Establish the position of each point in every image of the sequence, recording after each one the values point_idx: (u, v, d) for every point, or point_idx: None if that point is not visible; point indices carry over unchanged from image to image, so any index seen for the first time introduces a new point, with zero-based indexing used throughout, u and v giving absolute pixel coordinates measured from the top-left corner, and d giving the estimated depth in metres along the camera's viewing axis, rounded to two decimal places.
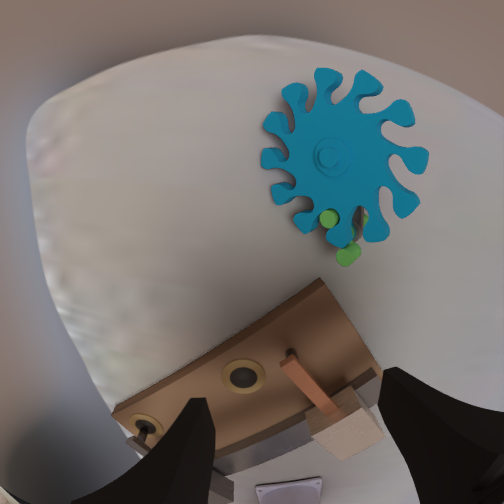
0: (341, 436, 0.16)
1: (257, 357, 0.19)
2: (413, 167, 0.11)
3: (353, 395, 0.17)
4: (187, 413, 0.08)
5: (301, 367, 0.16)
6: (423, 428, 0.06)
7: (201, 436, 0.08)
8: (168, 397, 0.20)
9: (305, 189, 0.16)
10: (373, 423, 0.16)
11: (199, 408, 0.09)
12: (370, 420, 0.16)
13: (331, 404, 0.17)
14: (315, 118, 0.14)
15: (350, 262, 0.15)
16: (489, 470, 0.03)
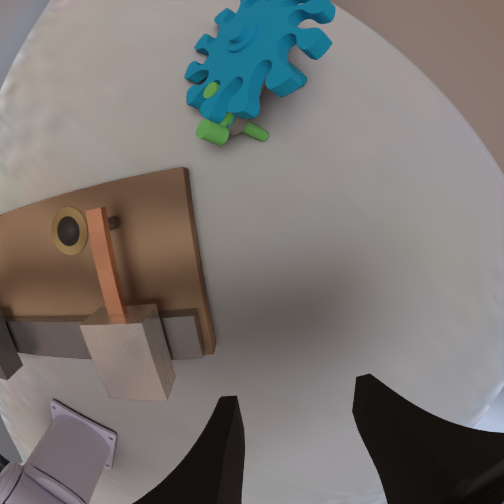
0: (112, 353, 0.13)
1: None
2: (303, 43, 0.09)
3: (147, 311, 0.14)
4: (221, 412, 0.08)
5: (103, 224, 0.13)
6: (392, 440, 0.06)
7: (236, 435, 0.08)
8: (10, 223, 0.16)
9: (209, 64, 0.13)
10: (153, 364, 0.14)
11: (233, 406, 0.09)
12: (149, 355, 0.13)
13: (118, 301, 0.14)
14: (250, 11, 0.11)
15: (205, 133, 0.13)
16: (452, 494, 0.03)
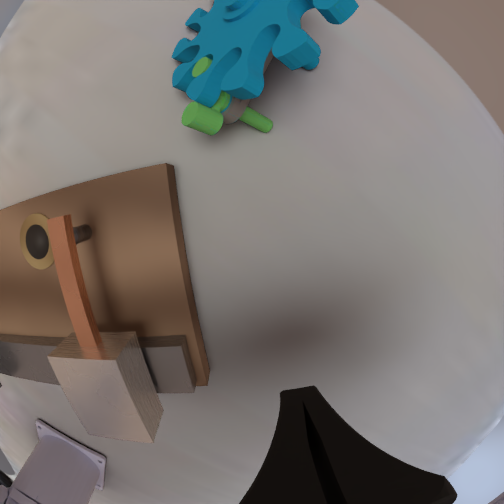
0: (85, 390, 0.10)
1: None
2: (321, 3, 0.06)
3: (124, 343, 0.11)
4: (290, 405, 0.08)
5: (67, 236, 0.10)
6: (321, 459, 0.06)
7: None
8: None
9: (201, 38, 0.10)
10: (133, 405, 0.10)
11: (300, 399, 0.09)
12: (128, 396, 0.10)
13: (88, 330, 0.11)
14: None
15: (192, 119, 0.10)
16: None
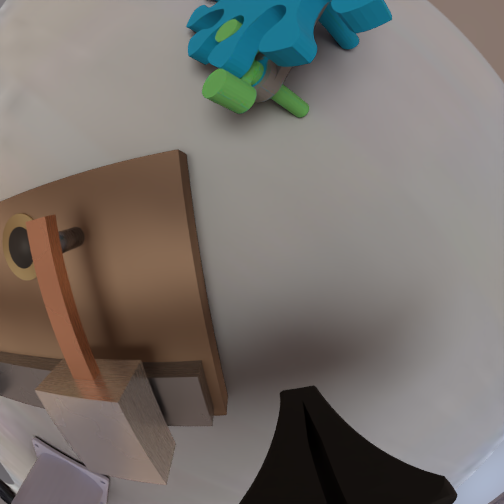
0: (83, 430, 0.08)
1: None
2: None
3: (127, 377, 0.09)
4: (290, 405, 0.08)
5: (50, 243, 0.07)
6: (321, 459, 0.06)
7: None
8: None
9: (225, 2, 0.07)
10: (142, 449, 0.08)
11: (299, 399, 0.09)
12: (135, 440, 0.08)
13: (82, 361, 0.08)
14: None
15: (218, 90, 0.07)
16: None
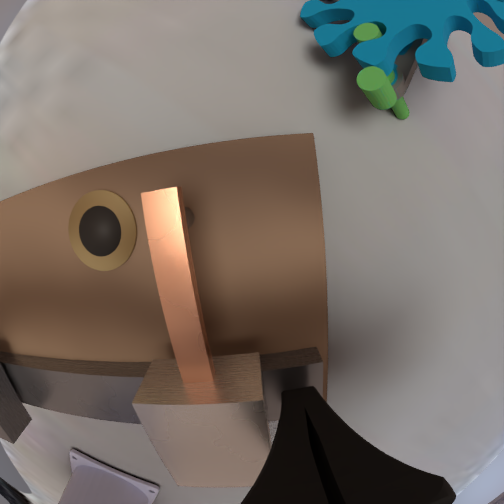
0: (194, 441, 0.08)
1: (138, 203, 0.10)
2: (503, 15, 0.03)
3: (255, 371, 0.09)
4: (291, 405, 0.08)
5: (180, 219, 0.07)
6: (320, 459, 0.06)
7: None
8: (2, 220, 0.10)
9: (350, 3, 0.07)
10: (267, 449, 0.08)
11: (301, 399, 0.09)
12: (265, 440, 0.08)
13: (204, 361, 0.08)
14: None
15: (379, 86, 0.07)
16: None
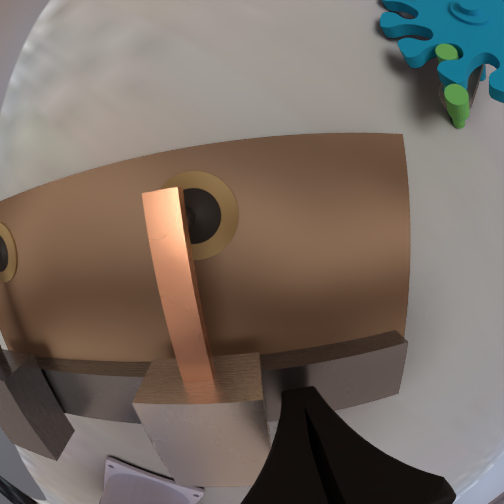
0: (194, 441, 0.08)
1: (241, 187, 0.10)
2: None
3: (255, 371, 0.09)
4: (291, 405, 0.08)
5: (181, 220, 0.07)
6: (320, 459, 0.06)
7: None
8: (51, 203, 0.10)
9: (427, 22, 0.07)
10: (267, 449, 0.08)
11: (301, 399, 0.09)
12: (265, 439, 0.08)
13: (204, 360, 0.08)
14: None
15: (464, 102, 0.07)
16: None
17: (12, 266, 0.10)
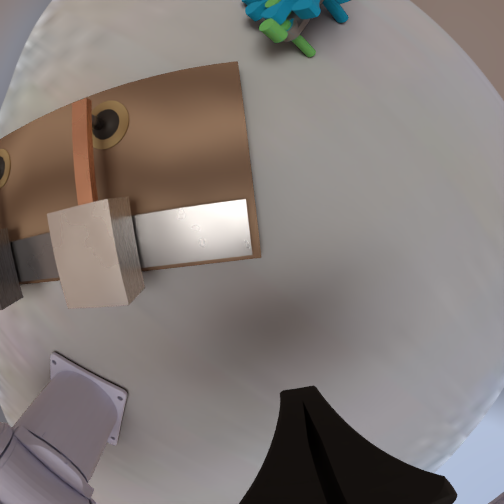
0: (74, 243, 0.12)
1: (131, 106, 0.14)
2: None
3: None
4: (290, 405, 0.08)
5: (86, 112, 0.12)
6: (321, 459, 0.06)
7: None
8: (35, 131, 0.14)
9: None
10: (115, 251, 0.12)
11: (299, 399, 0.09)
12: (112, 240, 0.12)
13: (89, 188, 0.13)
14: None
15: (269, 26, 0.12)
16: None
17: (6, 174, 0.15)
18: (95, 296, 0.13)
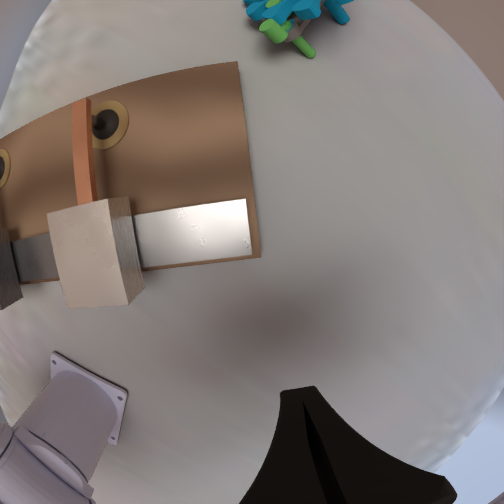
0: (74, 243, 0.12)
1: (131, 106, 0.14)
2: None
3: None
4: (290, 405, 0.08)
5: (86, 112, 0.12)
6: (321, 459, 0.06)
7: None
8: (35, 131, 0.14)
9: None
10: (114, 251, 0.12)
11: (299, 399, 0.09)
12: (112, 239, 0.12)
13: (89, 187, 0.13)
14: None
15: (269, 27, 0.12)
16: None
17: (6, 174, 0.15)
18: (95, 296, 0.13)
